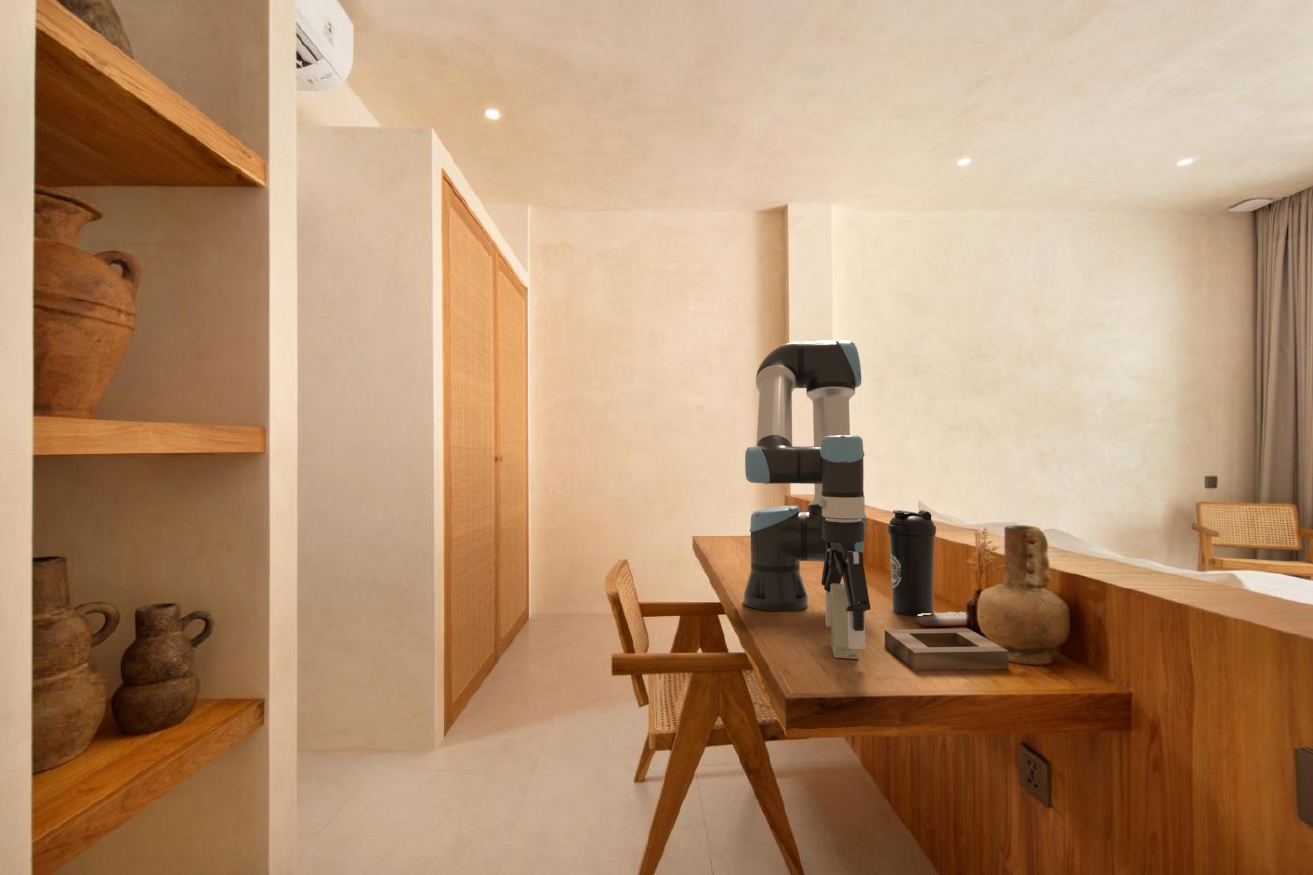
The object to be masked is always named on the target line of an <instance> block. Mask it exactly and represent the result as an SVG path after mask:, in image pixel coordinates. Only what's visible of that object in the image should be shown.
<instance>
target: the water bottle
mask: <svg viewBox="0 0 1313 875" xmlns="http://www.w3.org/2000/svg"><path fill="white" fill-rule="evenodd" d="M892 513H893V514H894V517H892V518H891V519H890V521H889V523H887V533H888V534H889V550H890V552H889V555H890V575H891V576H890V577H891V578H890V579H891V592H892V594H891V595H892V610H893V612H894V613H896V614H899V615H904V616H910V617H918V616H917V615H918V614H921V613H933V614H934V582H935V580H934V572H935V569H934V568H935V562H934V561H935V536H936V534H937V525H935V524H934V521H933V520H932V514H931V512H929V511H927V510H925V509H921V510H919V511H918V512H913V511H909V510H900V509H895V510H892Z"/></svg>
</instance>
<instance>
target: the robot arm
mask: <svg viewBox="0 0 1313 875" xmlns="http://www.w3.org/2000/svg"><path fill="white" fill-rule="evenodd" d="M758 366H759V367H758V369H757V371H756V376H755V378H756V379H755V386H756V388H757V391H758V392H759V396H758V412H757V414H758V416H757V429H756V430H757V431H756V432H757V433H756V444H755V446H749V447H747V448H746V450H745V456H744V470H745V478H746V480H747V481H748V482H749V483H752V484H753V483H754V484H764V485H768V484H769V485H770V484H771V485H772V484H773V485H774V484H775V485H777V484H784V485H785V484H801V485H803V484H813V486H814V487H813V488H814V497H813V499H812V500H811V501H810V502H809V503H808V504H807V505H808V509H807V510H808V511H801V509H800V507H799V506H798V505H781V506H771V507H765V508H761V509H757V510H755V511H753V513H752V514H751V516H750V529H749V533H750V573H749V575H748V580H747V582H746V586H745V589H744V592H743V604H745V606H747V607H748V608H752V609H756V610H759V611H760V610H761V611H767V612H768V611H769V612H792V611H793V612H794V611H795V612H796V611H799V610H803V609H805V608H807V607H808V605H809V604H808V603H809V602H808V601H809V600H808V596H809V595H808V594H807V593H808V592H807V591H806V590H807V589H806V586H805V584H804V581H803V578H802V575H801V568H800V567H801V565H800V563H801V562H816V563H817V562H818V563H819V562H821V563H823V568H822V577H821V585H822V586H824V587H823V588H824V591H825V595H824V596H825V597H824V598H825V626H826V627H829V628H831V587H830V584H832V583H835V584H841V582H842V580H843V584H845V589H846V593H847V597H848V601H849V606H848V607H847V609H846V611H847V612H848V648H849V649H858V650H861V649H865V650H866V611H870V610H871V602H870V597H869V592H868V591H869V590H868V584H867V579H866V572H865V566H864V553H863V552H864V547H865V539H866V531H867V522H866V521H867V515H866V513H865V512H866V511H865V510H866V508H865V505H866V504H865V496H864V494H865V493H864V473H865V470H864V457H865V452H864V441H863V438H862V437H861V436H860V435H851V425H850V421H851V420H850V418H851V417H850V399H852V398H853V396H855V395H856V389H857V388H858V387H861V385H862V367H861V360H860V355H859V352H858V348H857V345H856V344H855V342H853V341H851V340H843V339H841V340H839V339H833V340H813V341H791V342H788V343H784V344H782V345H780V346H778V347H776V348H775V349H773V350H772V351H771V352H770V353H769V354H767V356H765V358H764V359H763V360H762V362H761V363H760V365H758ZM795 389H806V390H805V391H806V397H807V398H809V399H810V400H811V402H812V416H813V417H812V418H813V419H812V421H813V426H812V428H813V445H811V446H809V445H808V446H793V391H794V390H795Z"/></svg>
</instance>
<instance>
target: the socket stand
mask: <svg viewBox="0 0 1313 875" xmlns="http://www.w3.org/2000/svg"><path fill="white" fill-rule="evenodd" d="M884 646H885V647H886V648H887V649H888V650H889V651H891V652H892V653H893V654H894V655H895V656H897V657H898V658H899V659H900V660H902V662H904V663H905V664H906V665H908V666H909V667H910V668H911V667H912V668H911V669H912V670H914V671H957V670H958V671H959V670H960V669H969V670H971V671H972V670H974V671H975V670H1009V668H1010V667H1009V664H1010V663H1009V660H1010V658H1009V650H1007V649H1006V648H1003V647H1002V646H1000V645H998V644H997V643H995V642H993V641H991V640H989V639H987V638H986V637H984V636H982V635H981V634H979V633H977V632H975V631H973V630H971V629H969V628H928V629H927V628H925V629H924V628H922V629H921V628H919V629H918V628H913V629H912V628H911V629H904V628H903V629H884Z"/></svg>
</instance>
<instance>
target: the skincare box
mask: <svg viewBox="0 0 1313 875" xmlns="http://www.w3.org/2000/svg"><path fill="white" fill-rule="evenodd" d="M830 587H831V627H830V630H831V631H830V632H831V634H830V635H831V636H830V637H831V640H830V642H831V652H832V654H833V658H836V659H837V658H838V659H853V660H859V649H849V648H848V612H847V611H846V609H847V607H848V606H849V601H848V597H847V593H846V589H845V584H844V583H840V584H835V583H832V584H830Z"/></svg>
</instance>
